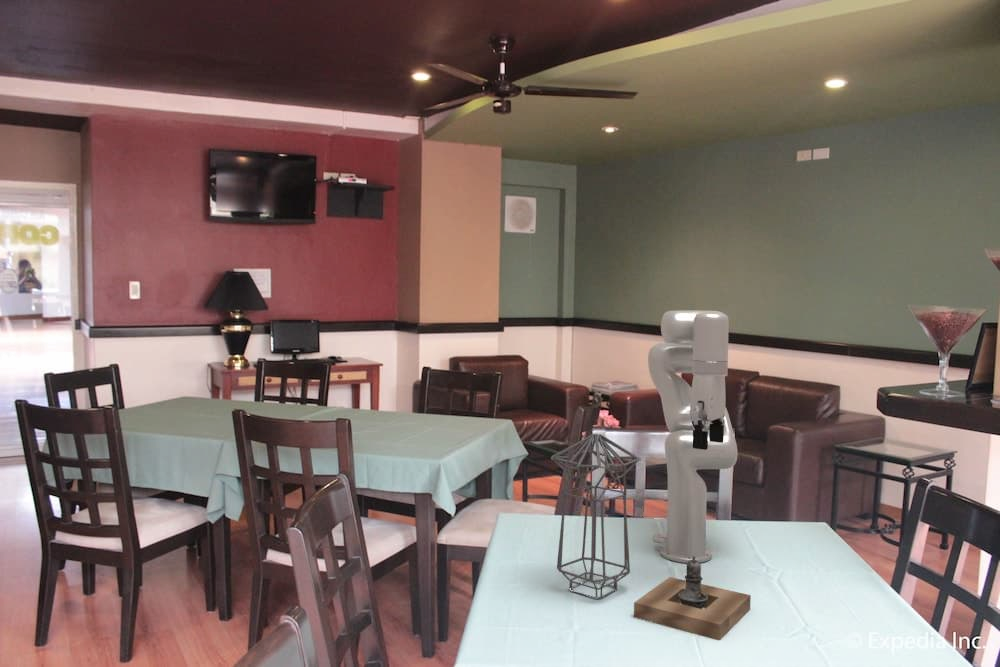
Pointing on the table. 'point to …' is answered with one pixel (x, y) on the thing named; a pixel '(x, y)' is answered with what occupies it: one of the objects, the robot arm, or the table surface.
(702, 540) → the robot arm
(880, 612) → the table surface
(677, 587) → the stand
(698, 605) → the salt shaker
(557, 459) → the geometric lantern
